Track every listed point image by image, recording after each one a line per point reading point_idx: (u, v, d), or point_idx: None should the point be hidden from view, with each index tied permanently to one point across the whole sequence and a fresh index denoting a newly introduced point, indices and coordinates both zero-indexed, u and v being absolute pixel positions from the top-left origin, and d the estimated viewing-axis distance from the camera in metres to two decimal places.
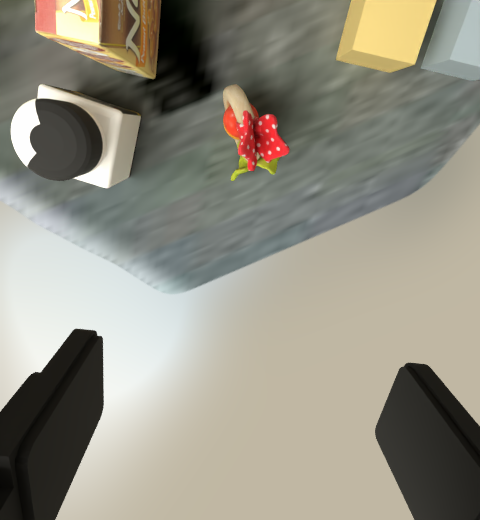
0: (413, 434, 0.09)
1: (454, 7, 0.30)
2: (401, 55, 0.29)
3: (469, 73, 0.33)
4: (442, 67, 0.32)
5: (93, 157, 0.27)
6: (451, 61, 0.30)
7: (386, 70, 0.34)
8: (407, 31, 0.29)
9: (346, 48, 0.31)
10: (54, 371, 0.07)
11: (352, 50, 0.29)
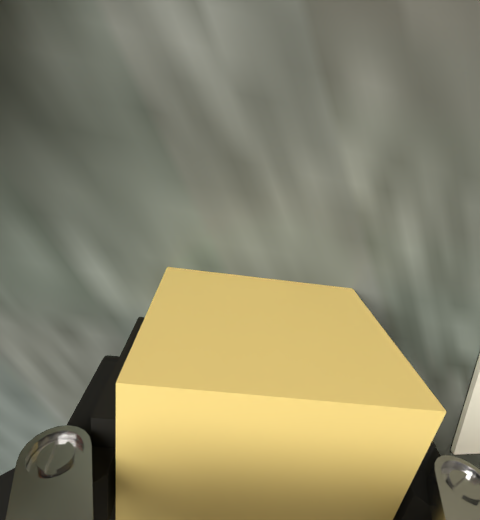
0: None
1: None
2: None
3: None
4: None
5: None
6: None
7: None
8: None
9: (168, 318, 0.08)
10: None
11: None
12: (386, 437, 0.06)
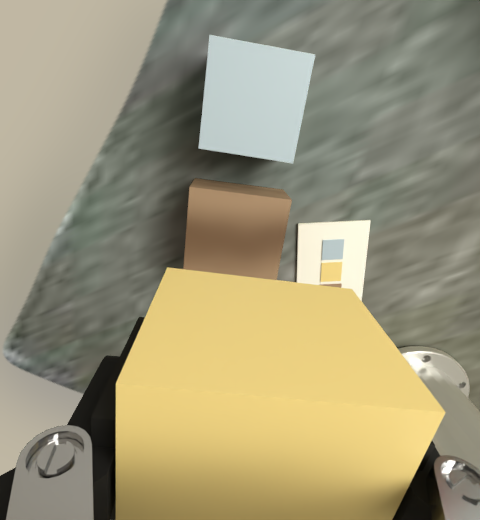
0: None
1: None
2: None
3: None
4: None
5: None
6: None
7: None
8: None
9: (168, 319, 0.08)
10: None
11: None
12: (385, 438, 0.06)
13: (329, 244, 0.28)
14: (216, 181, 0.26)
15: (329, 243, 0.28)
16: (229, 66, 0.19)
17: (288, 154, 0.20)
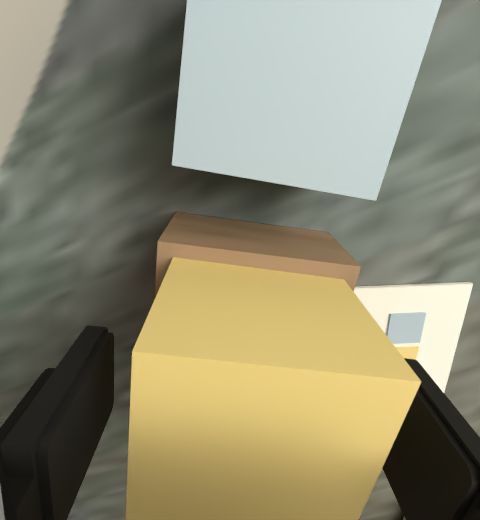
0: (401, 427, 0.09)
1: None
2: (144, 503, 0.08)
3: None
4: None
5: None
6: None
7: None
8: (220, 504, 0.08)
9: (176, 301, 0.08)
10: (69, 366, 0.08)
11: None
12: (369, 405, 0.07)
13: (400, 320, 0.17)
14: (213, 218, 0.14)
15: (400, 318, 0.17)
16: None
17: (367, 181, 0.09)
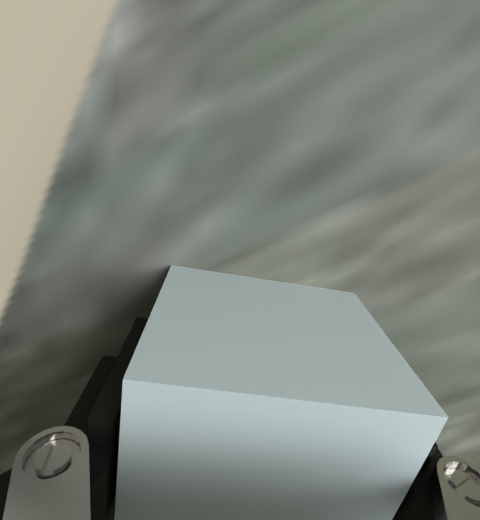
0: None
1: None
2: None
3: (238, 314, 0.08)
4: (342, 325, 0.09)
5: None
6: (410, 396, 0.07)
7: None
8: None
9: None
10: (130, 352, 0.08)
11: None
12: None
13: None
14: None
15: None
16: (189, 441, 0.06)
17: None
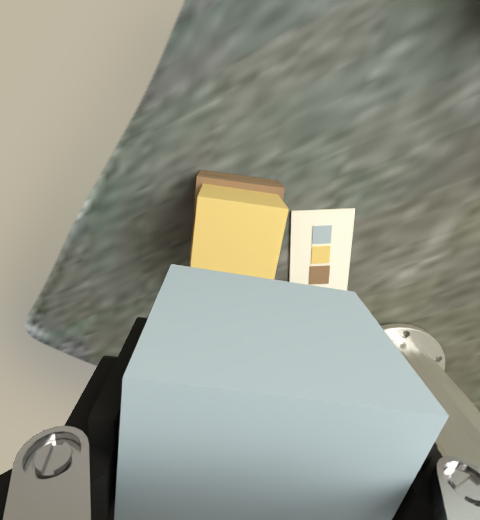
0: None
1: None
2: (197, 261, 0.23)
3: (238, 313, 0.08)
4: (342, 324, 0.09)
5: None
6: (411, 394, 0.06)
7: None
8: (224, 263, 0.23)
9: (207, 191, 0.23)
10: (130, 353, 0.08)
11: (197, 197, 0.21)
12: (272, 218, 0.22)
13: (318, 229, 0.31)
14: (219, 172, 0.29)
15: (318, 228, 0.31)
16: (189, 440, 0.06)
17: None
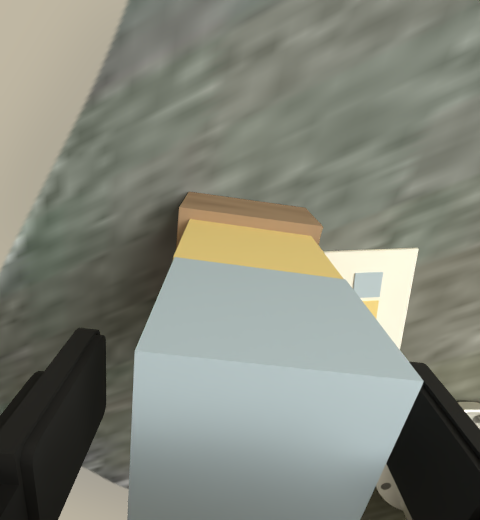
0: (410, 432, 0.09)
1: None
2: None
3: (236, 298, 0.09)
4: (332, 307, 0.09)
5: None
6: (391, 364, 0.07)
7: None
8: None
9: (195, 239, 0.13)
10: (58, 370, 0.07)
11: None
12: None
13: (363, 278, 0.21)
14: (217, 196, 0.19)
15: (363, 276, 0.21)
16: (194, 407, 0.07)
17: None
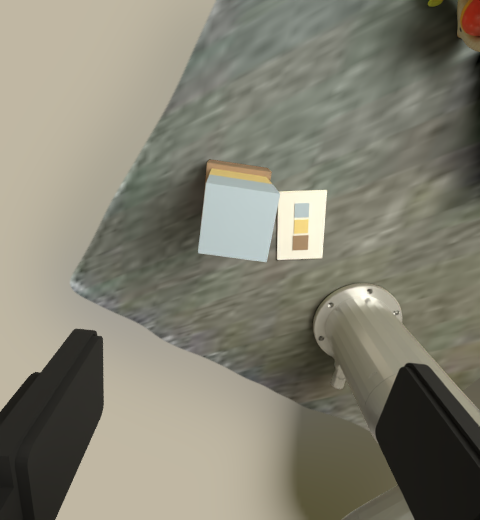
0: (413, 434, 0.09)
1: None
2: None
3: (231, 181, 0.28)
4: (262, 186, 0.29)
5: None
6: (273, 192, 0.27)
7: None
8: None
9: (215, 172, 0.32)
10: (54, 371, 0.07)
11: None
12: None
13: (299, 206, 0.41)
14: (223, 161, 0.38)
15: (299, 205, 0.41)
16: (220, 201, 0.26)
17: (262, 256, 0.28)
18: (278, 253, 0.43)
